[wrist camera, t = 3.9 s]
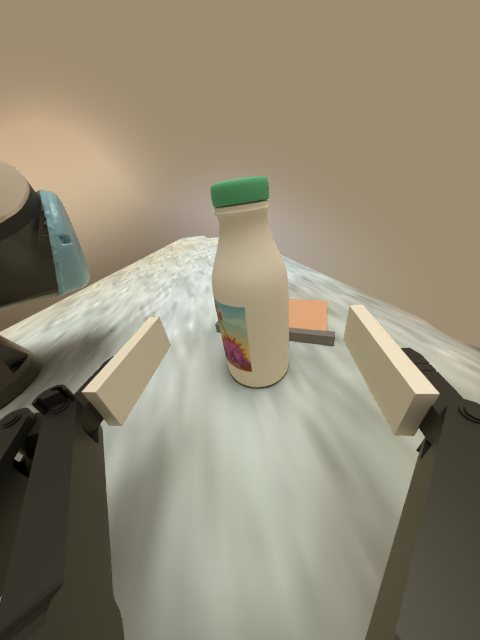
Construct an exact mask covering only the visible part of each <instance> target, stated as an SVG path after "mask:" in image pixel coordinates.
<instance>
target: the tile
mask: <svg viewBox="0 0 480 640" xmlns="http://www.w3.org/2000/svg"><path fill="white" fill-rule="evenodd" d="M289 327H291V328H301V329H311V330H321V331H326V329H327V301H318V300H297V299H289Z"/></svg>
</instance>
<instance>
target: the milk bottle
mask: <svg viewBox="0 0 480 640" xmlns="http://www.w3.org/2000/svg"><path fill="white" fill-rule="evenodd" d="M211 198H212V203H213V206H214V207H215V215H216V216H217V217H218V220H219V241H218V248H217V253H216V257H215V261H214V266H213V273H212V287H213V295H214V301H215V307H216V312H217V316H218V321H219V326H220V331H221V336H222V340H223V345H224V349H225V354H226V359H227V363H228V367H229V370H230V373H231V375H232V376H233V377H234V378H235V379H236V380H237V381H238V382H240V383H241V384H244V385H246V386H250V387H265V386H269V385H272V384H274V383H276V382H277V381H279V380H280V379H281V378H282V377H283V376H284V375H285V373H286V371H287V369H288V364H289V293H288V278H287V272H286V268H285V264H284V261H283V259H282V257H281V254H280V252H279V250H278V248H277V247H276V244H275V242H274V240H273V237H272V234H271V232H270V228H269V225H268V221H267V209H268V208H269V204H268V200H266V199H268V198H269V185H268V180H267V178H266V177H264V176H258V177H248V178H240V179H234V180H228V181H223V182H219V183H215V184H214V185H212V186H211Z"/></svg>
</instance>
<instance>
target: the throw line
mask: <svg viewBox="0 0 480 640" xmlns="http://www.w3.org/2000/svg"><path fill="white" fill-rule="evenodd" d="M215 325H216V329H217V332H221V331H220V326H219V321H218V322H217V323H216V324H215ZM289 340H290V341H298V342H307V343H315V344H323V345H331V346H334V340H335V332H332V331H321V330H311V329H301V328H291V327H289Z"/></svg>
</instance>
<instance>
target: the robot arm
mask: <svg viewBox="0 0 480 640" xmlns="http://www.w3.org/2000/svg"><path fill="white" fill-rule="evenodd" d="M89 278H90V274H89V270H88V267H87V263H86V260H85V257H84V254H83V251H82V249H81V246H80V243H79V241H78V238H77V236H76V233H75V231H74V228H73V226H72V224H71V221H70V219H69V217H68V215H67V212H66V210H65V208H64V206H63V204H62V202H61V201H60V199H59V198H58V196H57V195H56V194H55V193H53V192H50V191H44V190H39V191H37V192H35V191H34V190H33V188H32V187H31V186H30V184H29V183H28V182H27V180H26V179H25V177H24V176H23V175H22V174H21V173H20V171H18V170H17V169H16V168H15V167H13V166H11V165H10V164H8V163H5V162H3V161H1V160H0V310H3V309H7V308H11V307H15V306H19V305H23V304H27V303H32V302H36V301H40V300H44V299H48V298H52V297H56V296H62V295H63V294H64V293H67V292H70V291H74V290H77V289H80V288H83V287H84V286H85V285H86V284H87V283H88V281H89ZM343 340H344V342H345V344H346V346H347V348H348V349H349V351H350V353H351V355H352V357H353V359H354V361H355V363H356V364H357V366H358V368H359V370H360V372H361V374H362V376H363V378H364V380H365V381H366V383H367V385H368V387H369V389H370V391H371V393H372V395H373V396H374V398H375V400H376V402H377V404H378V406H379V408H380V410H381V411H382V413H383V415H384V417H385V419H386V421H387V423H388V425H389V426H390V428H391V430H392V432H393V434H394V435H404V436H414V435H415V434H416V432H417V430H418V429H419V428H420V430H421V431H422V433H423V435H424V436H425V438H424V440H423V441H422V443H421V444H420V446H419V447H418V449H417V450H416V451H418V452H419V455H418V459H417V462H416V466H415V469H414V473H413V476H412V480H411V483H410V487H409V490H408V493H407V497H406V500H405V504H404V507H403V511H402V514H401V518H400V521H399V525H398V528H397V531H396V535H395V538H394V542H393V545H392V549H391V552H390V556H389V559H388V563H387V566H386V569H385V573H384V576H383V580H382V583H381V587H380V590H379V594H378V597H377V601H376V604H375V607H374V611H373V614H372V618H371V621H370V625H369V628H368V632H367V635H366V638H365V640H480V404H478V403H476V402H473V401H469V400H466V399H463V398H462V397H461V396H460V394H459V393H458V392H457V391H456V390H455V389H454V388H453V387H452V386H451V385H450V384H449V383H448V382H447V381H446V380H445V379H444V378H443V377H442V376H441V375H440V374H439V373H438V372H436V370H435V369H434V367H433V366H432V365H429V362H428V361H427V360H426V359H425V358H424V357H423V356H422V355H421V354H419V353H417V352H416V351H414V350H413V349H411V348H400V347H399V346H398V345H397V344H396V343H395V342H394V340H393V339H392V338H391V337H390V336H389V335H388V333H387V332H386V331H385V330H384V329H383V328H382V327H381V325H380V324H379V323H378V322H377V321H376V320H375V319H374V317H373V316H372V315H371V314H370V313H369V312H368V310H367V309H366V308H365V307H364V306H363V305H351V306H349V312H348V317H347V323H346V328H345V333H344V339H343ZM170 346H171V345H170V342H169V340H168V337H167V335H166V332H165V330H164V327H163V325H162V322H161V320H160V317H150V318H149V319H148V320H147V321H146V322H145V323H144V324H143V325H142V326H141V327H140V329H139V330H138V331H137V332H136V333H135V334H134V335H133V336H132V337H131V338H130V339H129V341H128V342H127V343H126V344H125V345H124V346H123V347H122V348H121V349H120V350H119V351H118V353H117V354H116V355H115V356H113V357H111V358H110V359H108V360H107V361H106V362H104V363H103V364H102V366H101V367H100V368H99V369H98V370H97V371H96V372H95V373H94V374H93V376H91V377H90V378H89V379H88V380H87V381H86V383H85V384H84V385H83V386H82V387H81V388H80V389H79V390H78V391H77V392H76V393H75V394H74V395H73V393H72V392H71V391H70V390H69V389H68V388H67V387H66V386H65V385H57V386H54V387H51V388H49V389H47V390H45V391H44V392H42V393H41V394H40V395H38V396H37V397H36V398H35V399H34V401H33V403H32V405H33V406H34V407H35V408H36V409H37V410H38V411H39V412H38V413H35V414H34V413H33V412H32V411H31V410H30V409H28V408H22V409H18V410H16V411H14V412H11V413H10V414H8V415H6V416H5V417H4V418H3V419H1V420H0V597H1V595H2V597H1V601H0V640H124V631H123V623H122V618H121V614H120V610H119V608H118V606H117V604H116V602H115V600H114V596H113V587H112V571H111V556H110V540H109V524H108V509H107V493H106V478H105V462H104V446H103V431H102V427H101V426H100V423H101V422H102V421H103V419H104V420H105V421H106V422H107V424H108V425H111V426H122V425H123V423H124V421H125V420H126V418H127V417H128V415H129V413H130V412H131V410H132V408H133V407H134V405H135V403H136V402H137V400H138V399H139V397H140V395H141V394H142V392H143V390H144V389H145V387H146V385H147V384H148V382H149V381H150V379H151V377H152V376H153V374H154V372H155V371H156V369H157V367H158V366H159V364H160V362H161V361H162V359H163V358H164V356H165V354H166V353H167V351H168V349H169V348H170ZM40 366H41V365H40V362H39V361H38V359H37V358H36V357H35V356H34V355H33V354H32V353H31V352H30V351H29V350H27V349H25V348H23V347H21V346H19V345H18V344H16V343H14V342H12V341H10V340H8V339H6V338H4V337H2V336H0V408H1V407H3V406H4V405H5V404H7V403H8V402H10V401H11V400H12V399H13V398H15V397H16V396H17V395H18V394H19V393H21V392H22V391H23V390H24V389H25V388H26V387H27V386H28V385H29V384H30V383H31V382H32V381H33V380H34V378H35V377H36V376H37V374H38V372H39V370H40ZM18 452H19V453H20V454H22V455H23V457H22V459H21V461H20V462H18V461H16V460H15V459H14V458H15V456H16V454H17V453H18Z"/></svg>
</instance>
